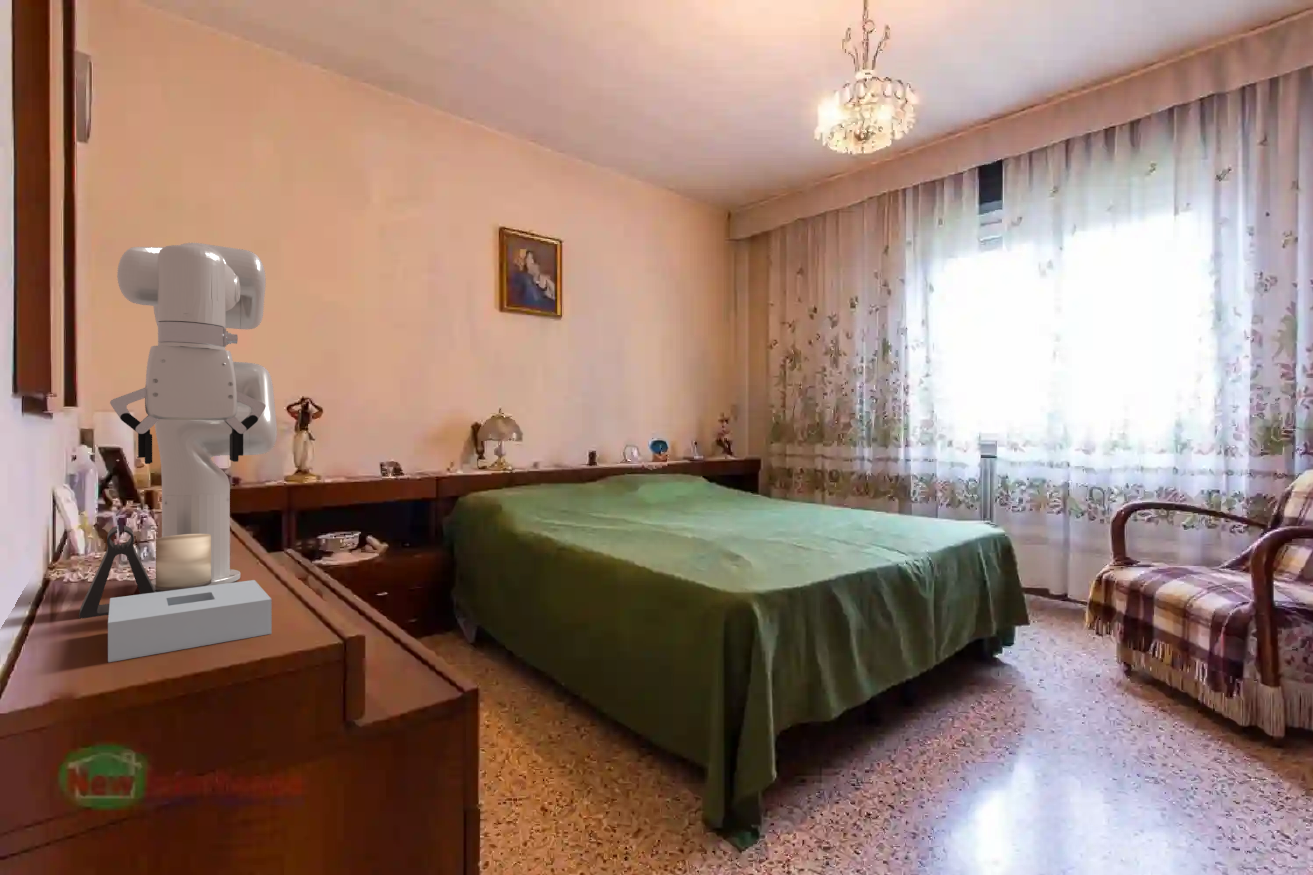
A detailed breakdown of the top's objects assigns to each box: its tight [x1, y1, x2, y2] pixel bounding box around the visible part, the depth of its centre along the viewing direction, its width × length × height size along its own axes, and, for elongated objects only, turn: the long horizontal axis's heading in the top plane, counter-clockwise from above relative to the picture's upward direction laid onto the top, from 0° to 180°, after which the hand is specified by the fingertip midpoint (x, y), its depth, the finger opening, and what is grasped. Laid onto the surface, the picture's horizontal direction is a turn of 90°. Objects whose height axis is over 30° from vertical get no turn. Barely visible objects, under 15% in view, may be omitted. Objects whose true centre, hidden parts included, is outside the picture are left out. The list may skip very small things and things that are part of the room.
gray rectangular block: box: [107, 579, 273, 663], centre depth 82 cm, size 14×16×4 cm
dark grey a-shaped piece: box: [78, 525, 157, 619], centre depth 93 cm, size 9×6×12 cm, turn 130°
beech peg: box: [155, 534, 211, 592], centre depth 91 cm, size 6×6×11 cm
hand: (192, 462), depth 87 cm, fingers open, 9 cm apart
